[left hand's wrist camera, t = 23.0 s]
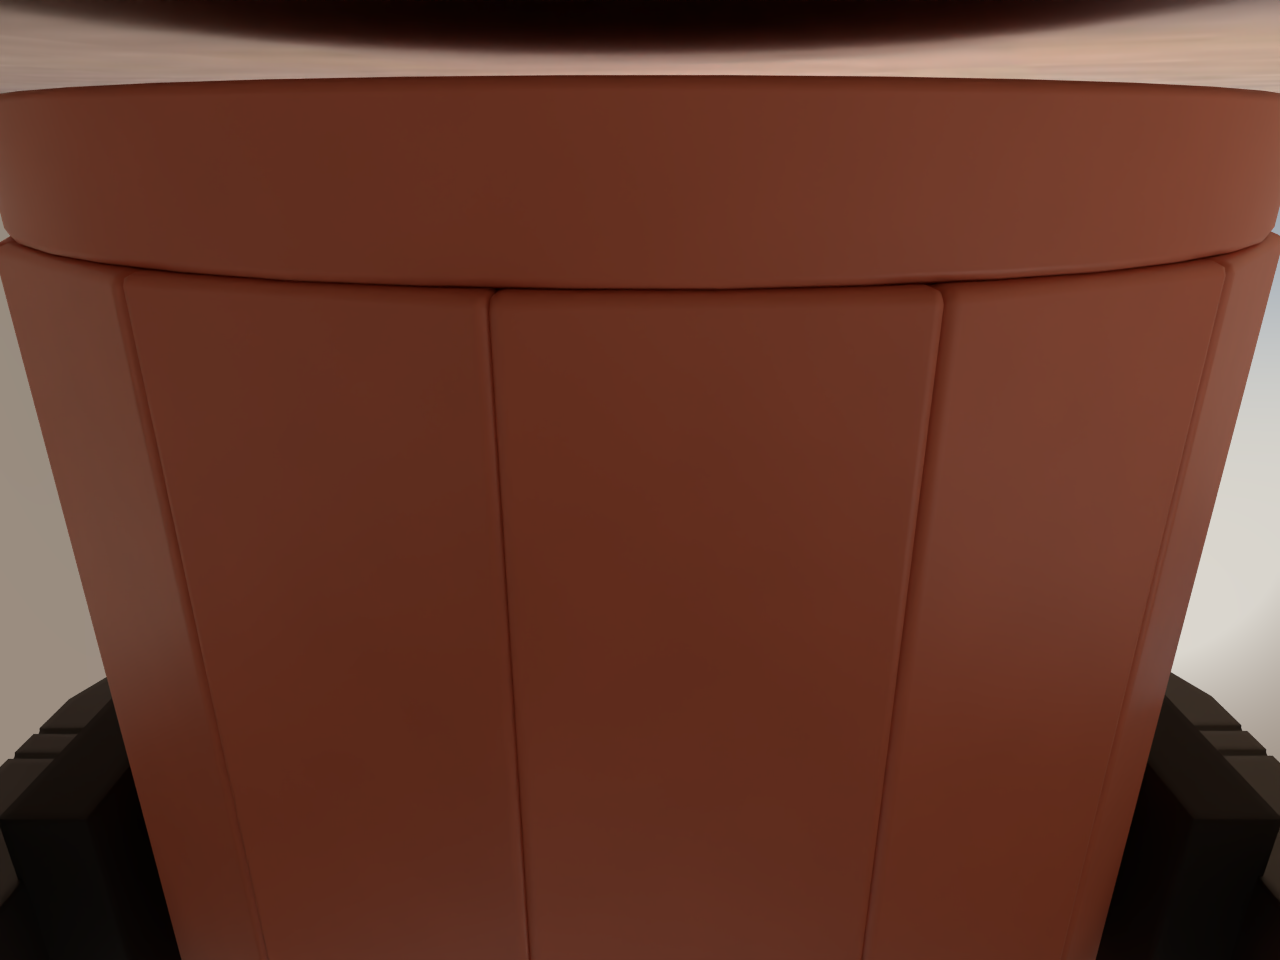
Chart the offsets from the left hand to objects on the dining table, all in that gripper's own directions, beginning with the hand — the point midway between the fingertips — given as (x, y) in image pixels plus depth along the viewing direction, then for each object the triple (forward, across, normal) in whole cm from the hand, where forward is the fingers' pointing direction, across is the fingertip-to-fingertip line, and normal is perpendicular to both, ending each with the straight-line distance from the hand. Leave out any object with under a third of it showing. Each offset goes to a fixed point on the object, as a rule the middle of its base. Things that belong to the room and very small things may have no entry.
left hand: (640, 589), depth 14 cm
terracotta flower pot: (-4, 0, -7) cm, 8 cm away
